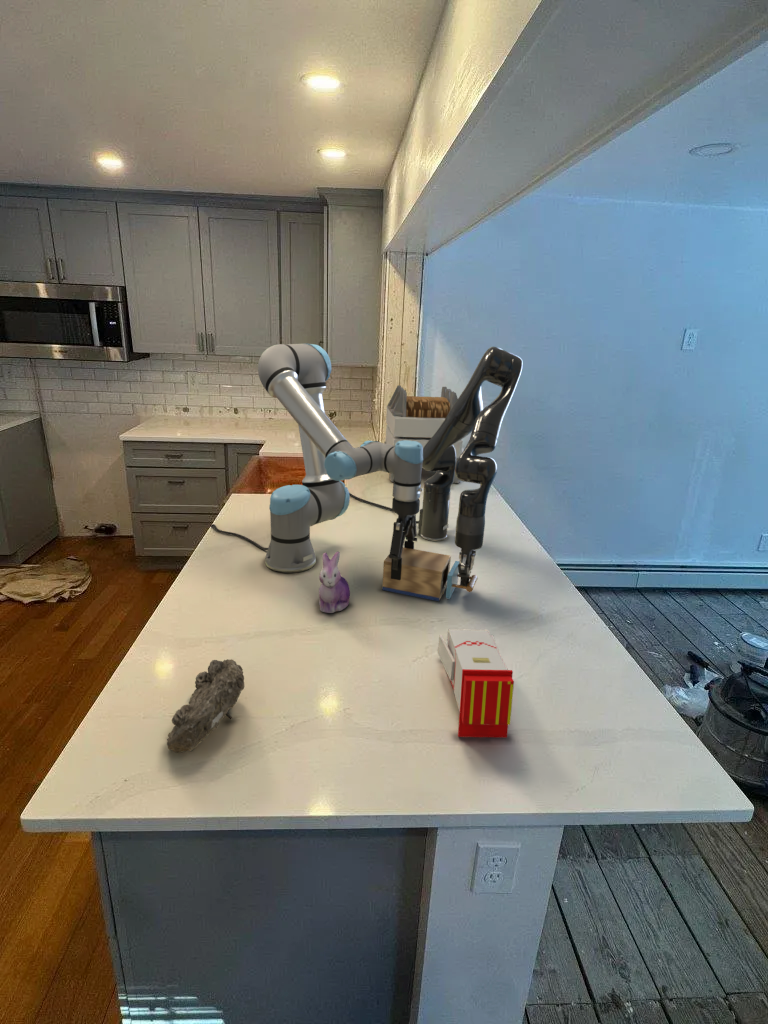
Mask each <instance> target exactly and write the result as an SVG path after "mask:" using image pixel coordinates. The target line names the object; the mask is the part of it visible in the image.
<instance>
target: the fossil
mask: <svg viewBox="0 0 768 1024" xmlns="http://www.w3.org/2000/svg"><path fill="white" fill-rule="evenodd" d="M243 670H244V669H243V667H242V665H240V664H237V662H236V661H235V660H234V659H232V658H231V659H227V658H226V659H224V660H223V661H222V660H217V659H212V660H211V661H210V663H209V665H208V666H207V671H201V672H199V673H198V674H197V675H196V676H195V680H194V684H195V685H194V687H195V689H194V690H193V693H192V694H191V697H190V698H189V700H188V704H184V705H182V706H181V707H180V709H177V710H176V711H175V713H174V715H173V716H172V718H171V723H172V724H173V727H172V730H171V731H170V732H168V734H167V738H166V741H167V742H166V745H167V749H168V750H169V751H173V752H174V753H176V754H178V753H182V752H188V751H189V752H192V751H193V750H195V748H196V747H197V746H199V744H200V743H201V742H203V741H204V740H205V739H206V738H207V737H208V736H209V735H210V734H211V733H212V732H214V730H215V729H217V727H218V726H219V724H220V722H221V721H222V720H223V719H224V718H225V716H226V717H227V719H229V720H233V717H232V715H230V714H229V710H230V709H231V708H234V706H235V704H236V703H237V702H238V699H239V697H240V695H241V693H242V691H243V690H245V689H244V688H245V675H244V671H243Z"/></svg>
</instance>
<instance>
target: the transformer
mask: <svg viewBox="0 0 768 1024" xmlns="http://www.w3.org/2000/svg"><path fill="white" fill-rule="evenodd" d="M440 393H441V394H440V396H415V395H414V396H413V395H412V396H411V395H407V394H408V393H407V390H406V389H404V388H403V387H402V385H399V384H398V385H397V386H396V388H395V390H394V392H393V394H392V395H391V398H390V400H389V402H388V404H387V405H386V413H385V414H386V415H385V423H386V428H385V438H384V442H383V443H385V444H389V445H393V446H395V445H396V443H397V442H398V441H403V440H409V441H416V442H419V443H421V444H422V446H423V448H424V446H425V445H426V444H427V442H428V441H429V440H430V439H431V438H432V436H433V435H434V434H435V433H436V432H437V430H438V429H439V427H440V426H441V424H442V423H443V421H444V420H445V418H446V417H447V415H448V413H449V412H450V410H451V408H452V407H453V405H454V404H455V402H456V401H457V399H458V398H459V397H458V395H457V392H455V391H453V390H452V389H451V388H447V386H442V387H441V392H440ZM463 442H464V441H463V439H461V440H460V441H458V442H456V443H455V444H453V446H454V448H455V451H456V463H457V460H458V459H459V457H460V455H461V454H462V452H463ZM388 476H389V477H388V478H389V480H390V482H391V483H393V482H394V474H391V473H389V475H388ZM455 483H456V484H459V483H461V481H460V480H459V479H458V478H457V477H456V474H455V473H454V480H453V484H455Z"/></svg>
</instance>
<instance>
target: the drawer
mask: <svg viewBox="0 0 768 1024" xmlns="http://www.w3.org/2000/svg"><path fill="white" fill-rule="evenodd" d="M459 562H460V560H455V561H454V563H453V565H452V567H450V571H449V563H448V564H447V566H446V568H445V570H444V571H443V573H442V583H441V593H442V591H443V589H444V587H445V585H446V584H447V587H446V589H445V599H447V600H451V597H452V596H453V593H454V591H455V589H456V588H458V589H464V590H466V592H468V593H472V592H473V590H474V588H475V585H476V583H477V580H478V579H479V578H478V576H477V575H476V574H472V575H470V578H469V583H468V585H467V586H462V585H460V584H458V582H459V578H461V576H459V570H458V564H459ZM448 572H449V574H448Z"/></svg>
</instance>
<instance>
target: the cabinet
mask: <svg viewBox="0 0 768 1024" xmlns="http://www.w3.org/2000/svg"><path fill="white" fill-rule="evenodd" d="M389 555H390V553H388V555H387V556H386V558H385V559H384V560H383V565H382V567H383V569H382V587H381V590H382V591H385V592H390V593H395V594H401V595H405V596H410V597H415V598H420V599H424V600H425V599H426V600H430V601H435V602H440V600H441V599H442V597H443V595H444V593H445V592H446V589H447V584H446V585H445V587H444V589H443V591H442V593H441V583H442V573H443V571H444V570H445V568H446V566H447V564H448V563H449V572H450V570H451V562H452V561H451V559H452V555H448V554H443V553H438V552H432V551H426V550H421V549H415V548H414V549H410V548H404V546H403V550H402V554H401V558H402V567H401V580H395V579H391V563H392V559H391V558H389V557H388V556H389ZM449 572H448V574H449Z"/></svg>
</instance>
